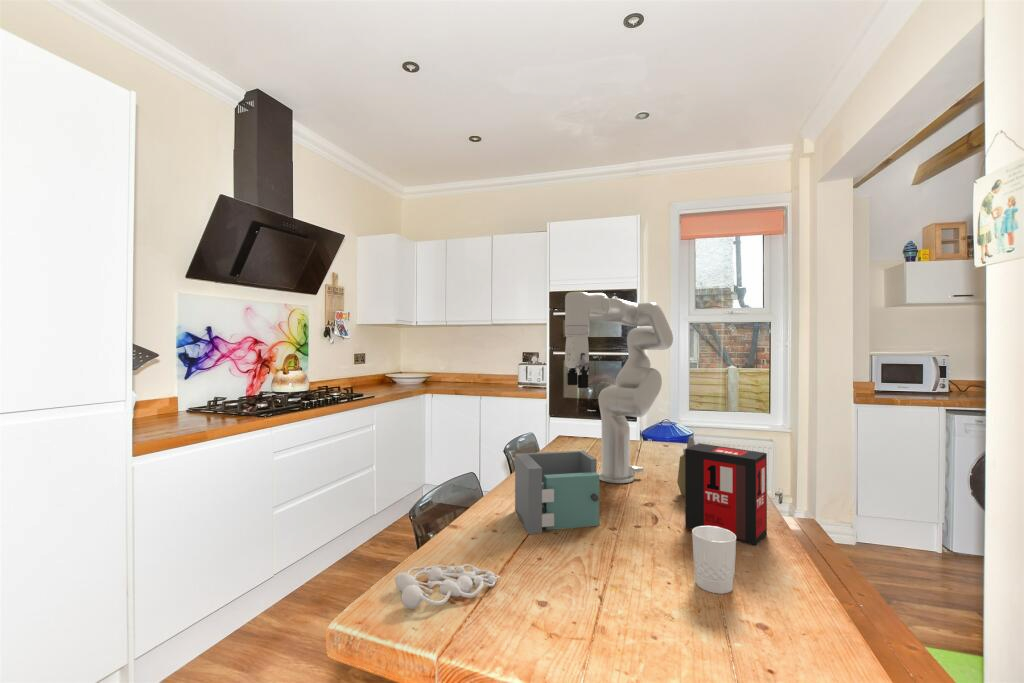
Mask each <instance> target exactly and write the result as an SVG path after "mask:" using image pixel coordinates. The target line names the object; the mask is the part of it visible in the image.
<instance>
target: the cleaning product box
mask: <svg viewBox="0 0 1024 683" xmlns="http://www.w3.org/2000/svg"><path fill="white" fill-rule="evenodd" d="M685 448H686V449H685V497H684V500H685V501H684V502H685V504H684V505H685V511H684V514H685V518H684V520H685V528H687V529H690V530H693V529H694V528H695V527H698V526H714V527H720V528H723V529H726V530H729V531H731V532H732V533H734V534H735V535H736V542H738V543H742V544H746V545H750V546H752V547H757V545H759V543H760V542H762V541H763V539H765V538H766V536H768V530H767V529H768V528H767V526H768V521H767V518H768V512H767V511H768V510H767V508H768V506H767V505H768V498H767V497H768V496H767V495H768V487H767V486H768V484H767V482H768V479H767V478H768V475H767V474H768V473H767V470H768V468H767V466H768V464H767V463H768V462H767V460H768V459H767V458H768V457H767V456H768V454H767V453H766V452H761V451H757V450H756V451H755V450H747V449H743V448H742V449H741V448H734V447H727V446H721V445H720V446H719V445H712V444H706V443H696V444H695V445H693V446H691V447H688V448H687V447H685Z"/></svg>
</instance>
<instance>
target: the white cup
mask: <svg viewBox="0 0 1024 683" xmlns="http://www.w3.org/2000/svg"><path fill="white" fill-rule="evenodd" d="M691 537H692V553H693V554H692V556H693V567H694V581H695V584H696V585H697V587H699V588H701V589H702V590H704V591H706V592H709V593H714V594H720V595H721V594H722V595H723V594H724V595H725V594H728V593H730V592H733V589H734V576H735V567H736V552H737V550H736V549H737V541H736V535H735V534H734V533H732V532H731V531H729V530H726V529H723V528H720V527H714V526H698V527H695V528H694V529H691Z"/></svg>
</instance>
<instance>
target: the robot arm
mask: <svg viewBox="0 0 1024 683" xmlns="http://www.w3.org/2000/svg"><path fill="white" fill-rule="evenodd" d="M564 313H565V314H564V316H565V317H564V318H565V321H564V322H565V325H564V329H565V330H564V333H565V337H566V338H565V339H566V340H565V350H564V351H565V352H564V366H565V367H566V368H567V370H566V371H567V373H566V374H567V375H566V376H567V377H566V378H567V383H566V384H567V385H568V386H577V389H588V388H589V374H590V373H589V370H590V367H589V365H590V350H589V338H588V337H590V321H595V322H603V323H610V324H611V323H612V324H619V325H622V326H627V327H635V328H631V329H630V330H629V332H628V333H627V336H626V344H627V350H628V357H627V360H626V361H625V363H624V364H623V366H622V367H621V369H620V370H619V372H618V374H617V375H616V378H615V381H614V382H615V383H614V384H615V386H608V387H607V386H606V387H604V388H603V389H601V391H600V393H599V395H598V406H599V411H600V418H601V419H600V420H601V471H599V472H597V474H598V475H599V481H601V482H605V483H610V484H628V483H631V482H634V481H635V474H636V473H638V474H639V473H644V467H643V466H636V465H631V453H630V452H631V448H630V446H631V443H630V442H631V438H630V437H631V430H630V429H631V428H630V424H629V421H628V420H627V417H632V418H642V417H644V416H645V415H647V413H648V412H649V411H650V409H651V407H652V406H653V404H654V402H655V401H656V399H657V397H658V395H659V394H660V391H661V389H662V385H663V384H662V383H663V381H662V379H663V378H662V375H661V372H660V371H659V370H658V369H657V368H656V369H655V368H653V367H651V360H650V358H649V357H648V355H647V354H646V352H645V350H647V351H653V350H654V351H656V350H657V351H665V350H668V349H669V348H671V347H672V345H673V343H674V342H673V341H674V335H673V331H672V328H671V327H670V324H669V322H668V320H667V318H666V316H665V313H664V311H663V310H662V308H661V307H660V306H659V305H658V304H657V303H656V302H655V301H654V302H653V301H652V302H651V301H648V302H632V301H630V300H629V301H628V300H624V299H621V298H617V297H616V298H615V297H614V298H613V297H612V298H609V297H608V296H607V295H606V294H605V293H603V292H589V293H588V292H585V291H570V292H568V293H566V294H565V299H564Z"/></svg>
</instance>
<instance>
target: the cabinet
mask: <svg viewBox="0 0 1024 683" xmlns="http://www.w3.org/2000/svg"><path fill="white" fill-rule="evenodd" d="M597 461H598V460H597V458H595V457H594V456H592V455H591V454H589V453H588V452H586V451H585V450H568V451H567V450H565V451H549V452H548V451H546V452H545V451H544V452H527V453H525V452H524V453H515V454H514V512H515V514H516V516H517V517H518V519H519V520H520V522H521V523H522V525H523V527H524V529H525V531H526V533H527V534H528V535H534V534H535V535H536V534H537V535H538V534H543V528H545V527H548V526H554V513H544V502H554V489H544V475H552V474H569V473H586V472H596V473H597V474H598V472H597V469H598V468H597V466H598V465H597Z"/></svg>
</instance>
